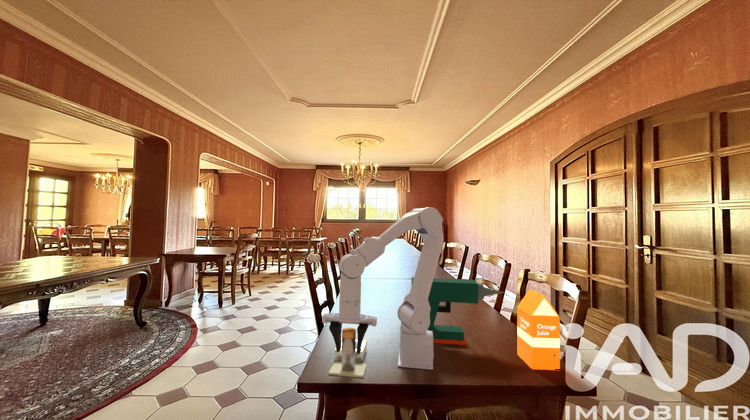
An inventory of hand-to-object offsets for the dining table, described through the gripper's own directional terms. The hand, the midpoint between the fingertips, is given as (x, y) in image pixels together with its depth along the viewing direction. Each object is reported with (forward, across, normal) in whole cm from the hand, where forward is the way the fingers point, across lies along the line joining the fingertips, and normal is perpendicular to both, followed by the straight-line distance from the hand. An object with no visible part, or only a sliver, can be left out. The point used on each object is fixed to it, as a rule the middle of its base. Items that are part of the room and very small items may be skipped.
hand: (348, 351), depth 76 cm
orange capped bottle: (+4, 0, 0) cm, 4 cm away
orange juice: (+5, -53, -14) cm, 55 cm away
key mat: (+5, 0, 0) cm, 5 cm away
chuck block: (+5, +1, -8) cm, 10 cm away
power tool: (+5, -32, -26) cm, 41 cm away
